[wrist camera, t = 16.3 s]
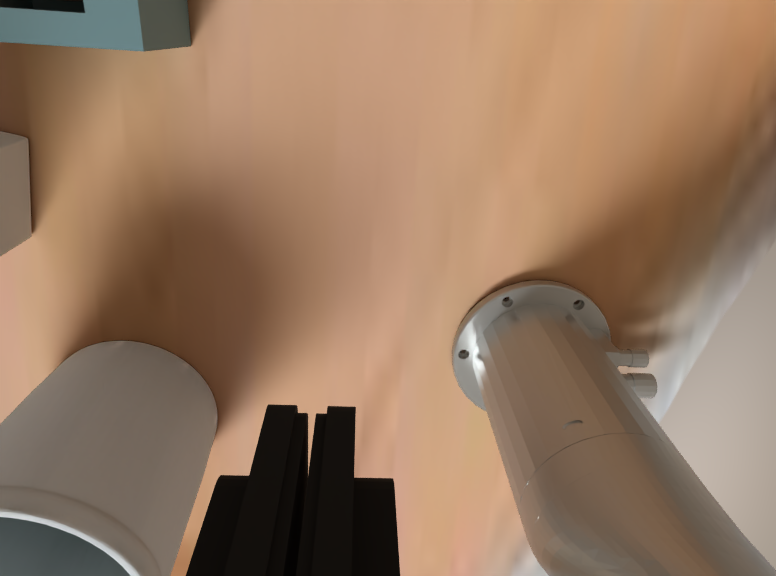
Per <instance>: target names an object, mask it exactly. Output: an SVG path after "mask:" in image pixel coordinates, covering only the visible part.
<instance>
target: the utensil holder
mask: <svg viewBox="0 0 776 576" xmlns="http://www.w3.org/2000/svg"><path fill="white" fill-rule="evenodd" d="M217 421H218V415H217V407H216V402H215V399H214V396H213V394H212V392H211V390H210V388H209V386H208V385H207V383H206V382H205V380H204V379H203V378H202V376H201V375H200V374H199V373H198V372H197V371H196V370H195V369H194V368H193V367H192V366H191V365H189V364H188V363H187V362H185V361H184V360H183V359H181V358H179V357H178V356H176V355H174V354H172V353H170V352H168V351H166V350H164V349H162V348H159V347H156V346H153V345H149V344H146V343H141V342H134V341H108V342H102V343H97V344H94V345H90V346H87V347H85V348H83V349H81V350H79V351H77V352H76V353H74V354H73V355H71V356H70V357H68V358H67V359H66V360H65V361H64V362H63V363H61V364H60V365H59V366H58V367H57V368H56V369H55V370H54V371H53V372H52V373H51V374H50V375H49V376H48V377H47V378H46V379H45V380H44V381H43V382H42V383H40V384H39V385H38V386H37V387H36V388H35V389H34V390H33V391H32V392H31V393H30V394H29V395H28V396H27V397H26V398H25V399H24V400H23V401H22V402H21V403H20V404H19V405H18V406H17V407H16V409H15V410H14V411H13V412H12V413H11V414H10V415H9V416H8V417H7V418H6V419H5V420H4V421H3V422H2V423H1V424H0V576H170V574H171V572H172V569H173V566H174V563H175V560H176V557H177V554H178V551H179V548H180V545H181V541H182V538H183V535H184V532H185V529H186V526H187V523H188V520H189V517H190V514H191V511H192V508H193V505H194V502H195V499H196V496H197V493H198V490H199V487H200V484H201V481H202V478H203V475H204V472H205V468H206V465H207V461H208V458H209V454H210V451H211V447H212V444H213V441H214V437H215V433H216V429H217Z"/></svg>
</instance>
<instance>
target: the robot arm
mask: <svg viewBox="0 0 776 576" xmlns="http://www.w3.org/2000/svg"><path fill="white" fill-rule="evenodd" d="M505 297H508V298H507V299H504V298H505ZM575 301H576V302H575ZM461 350H462V351H461ZM648 363H649V355H648V353H647V351H646V350H644V349H628V350H619V349H618V348H617V347H616V346H614V345H613V344H612V343H611V338H610V330H609V327H608V324H607V321H606V319H605V317H604V315H603V314H602V312H601V311H600V309H599V308H598V307H597V306H596V305H595V303H594V302H593V301H592V300H591V299H590V298H589V297H588V296H586V295H585V294H584V293H582V292H581V291H580V290H578V289H576V288H573V287H571V286H569V285H567V284H563V283H559V282H554V281H545V280H533V281H525V282H519V283H516V284H513V285H509V286H506V287H504V288H502V289H500V290H498V291H496V292H494V293H491V294H490V295H488V296H487V297H486V298H484V299H483V300H482V301H480V302H479V303H478V304H477V305H476V306H475V307H474V308H473V309H472V310H471V311H470V312H469V313H468V314H467V315H466V317H465V318H464V320H463V321H462V323H461V324H460V326H459V328H458V330H457V333H456V335H455V338H454V342H453V347H452V365H453V369H454V374H455V377H456V379H457V382H458V384H459V387H460V388H461V390H462V391H463V393H464V394H465V395H466V397H467V398H468V399H469V400H471V401H472V402H473V403H474V404H475V405H476V406H478V407H479V408H481V409H483V410H484V411H486V412H487V414H488V417H489V420H490V424H491V427H492V430H493V433H494V436H495V439H496V443H497V446H498V449H499V452H500V455H501V458H502V462H503V465H504V468H505V471H506V474H507V477H508V480H509V484H510V487H511V490H512V493H513V496H514V499H515V503H516V506H517V509H518V512H519V515H520V518H521V521H522V525H523V527H524V531H525V534H526V537H527V540H528V542H529V544H530V547H531V549H532V552H533V554H534V555H535V557H536V559H537V560H538V562H539V564H540V565H541V567H542V568H543V569H544V570H545V571H546V573H547V574H548V575H549V576H776V570H775V569H774V568H773V567H772V566H771V565H770V563H769V562H768V561H767V560H766V559H765V558H764V557H763V556H762V555H761V553H760V552H759V551H758V550H757V549H756V548H755V547H754V546H753V544H751V543H750V541H749V540H748V539H747V538H746V537H745V536H744V535H743V533H742V532H741V531H740V530H739V528H738V527H737V526H736V525H735V523H734V522H733V521H732V520H731V518H730V517H729V516H728V515H727V514H726V512H725V511H724V510H723V509H722V507H721V506H720V505H719V504H718V502H717V501H716V500H715V498H714V497H713V496H712V495H711V493H710V492H709V491H708V490H707V488H706V487H705V486H704V485H703V483H702V482H701V481H700V479H699V478H698V477H697V475H696V474H695V473H694V471H693V470H692V468H691V467H690V466H689V464H688V463H687V462H686V460H685V459H684V458H683V456H682V455H681V454H680V453H679V451H678V450H677V449H676V447H675V446H674V444H673V443H672V442H671V441H670V439H669V438H668V436H667V435H666V434H665V432H664V431H663V430H662V428H661V427H660V426H659V424H658V423H657V421H656V420H655V419H654V417H653V416H652V415H651V413H650V412H649V411H648V409H647V408H646V407H645V405H644V404H643V402H642V401H641V400H640V398H653V397H655V395H656V393H657V382H656V379H655V377H654V376H653V375H652V374H646V373H627V374H621V373H620V371H619V370H618V369H617V368H618V366H628V367H647V365H648ZM355 411H356V407H339V406H328V408H327V414H316V419H315V427H314V435H313V442H312V450H311V458H310V466H309V474H308V414H307V413H298V409H297V405H268V406H267V409H266V413H265V417H264V421H263V424H262V428H261V432H260V436H259V440H258V444H257V448H256V452H255V456H254V459H253V463H252V467H251V471H250V475H249V476H231V475H221V476H220V477H219V478H218V480H217V482H216V485H215V488H214V491H213V494H212V497H211V500H210V503H209V506H208V509H207V512H206V515H205V518H204V521H203V524H202V528H201V531H200V534H199V537H198V540H197V543H196V546H195V549H194V552H193V555H192V558H191V561H190V564H189V567H188V570H187V574H186V576H400V567H399V552H398V536H397V520H396V505H395V489H394V481H393V479H391V478H354V453H355Z"/></svg>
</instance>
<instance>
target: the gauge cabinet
mask: <svg viewBox="0 0 776 576" xmlns="http://www.w3.org/2000/svg"><path fill="white" fill-rule="evenodd" d="M0 42H8V43H23V44H39V45H54V46H69V47H84V48H99V49H114V50H130V51H152V50H161V49H170V48H179V47H188V46H191V38H190V26H189V15H188V3H187V0H83V1H64V0H0Z"/></svg>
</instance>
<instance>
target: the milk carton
mask: <svg viewBox="0 0 776 576" xmlns="http://www.w3.org/2000/svg"><path fill="white" fill-rule="evenodd" d="M31 236H32V232H31V202H30V172H29V143H28V138H26V137H23V136H19V135H15V134H11V133H6V132H2V131H0V256H2V255H3V254H5V253H7V252H8V251H10V250H11V249H13V248H15V247H16V246H18V245H19V244H21V243H22V242H24V241H26V240H27V239H29V238H30V237H31Z"/></svg>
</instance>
